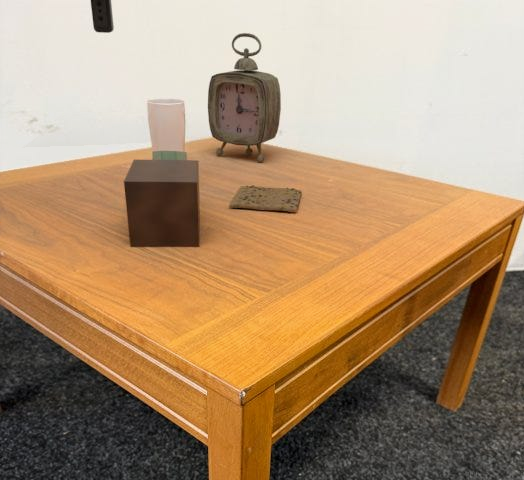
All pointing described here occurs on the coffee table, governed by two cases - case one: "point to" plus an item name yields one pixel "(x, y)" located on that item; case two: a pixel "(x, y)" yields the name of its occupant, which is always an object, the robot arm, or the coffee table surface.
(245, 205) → the cookie
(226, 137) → the tabletop clock
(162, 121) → the drinking glass
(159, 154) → the cup
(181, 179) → the block
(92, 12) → the robot arm
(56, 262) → the coffee table surface
